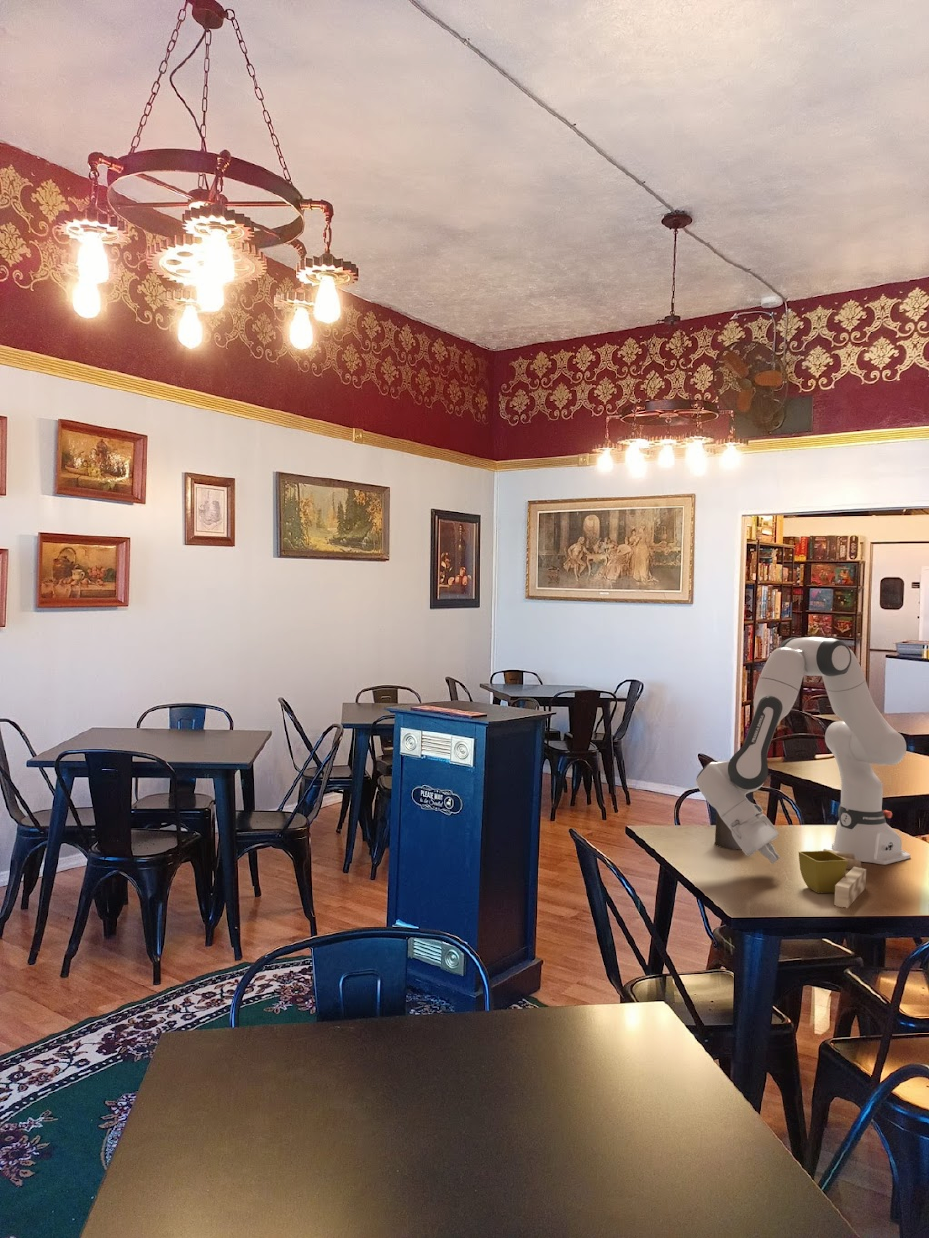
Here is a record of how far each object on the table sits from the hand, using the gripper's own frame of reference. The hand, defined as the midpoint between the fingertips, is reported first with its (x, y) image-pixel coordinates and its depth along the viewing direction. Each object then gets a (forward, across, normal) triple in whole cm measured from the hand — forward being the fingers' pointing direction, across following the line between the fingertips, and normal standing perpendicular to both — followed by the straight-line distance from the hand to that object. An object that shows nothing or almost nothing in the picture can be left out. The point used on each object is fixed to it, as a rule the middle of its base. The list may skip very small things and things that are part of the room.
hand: (776, 860), depth 233 cm
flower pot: (+12, 0, -4) cm, 13 cm away
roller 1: (+8, +31, -5) cm, 32 cm away
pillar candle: (-11, +26, +18) cm, 33 cm away
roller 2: (+10, +25, -6) cm, 28 cm away
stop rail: (+17, 0, -9) cm, 19 cm away
